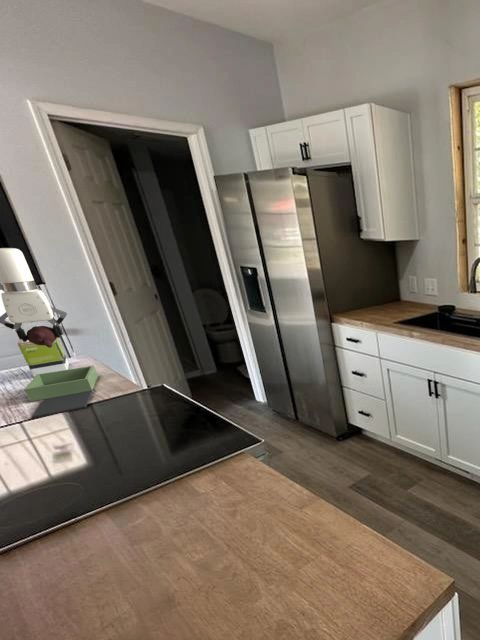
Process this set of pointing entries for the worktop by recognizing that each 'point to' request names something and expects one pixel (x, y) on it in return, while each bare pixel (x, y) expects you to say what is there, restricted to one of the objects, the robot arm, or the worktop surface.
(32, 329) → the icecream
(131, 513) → the worktop surface
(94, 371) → the basket
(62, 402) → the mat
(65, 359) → the tea box
